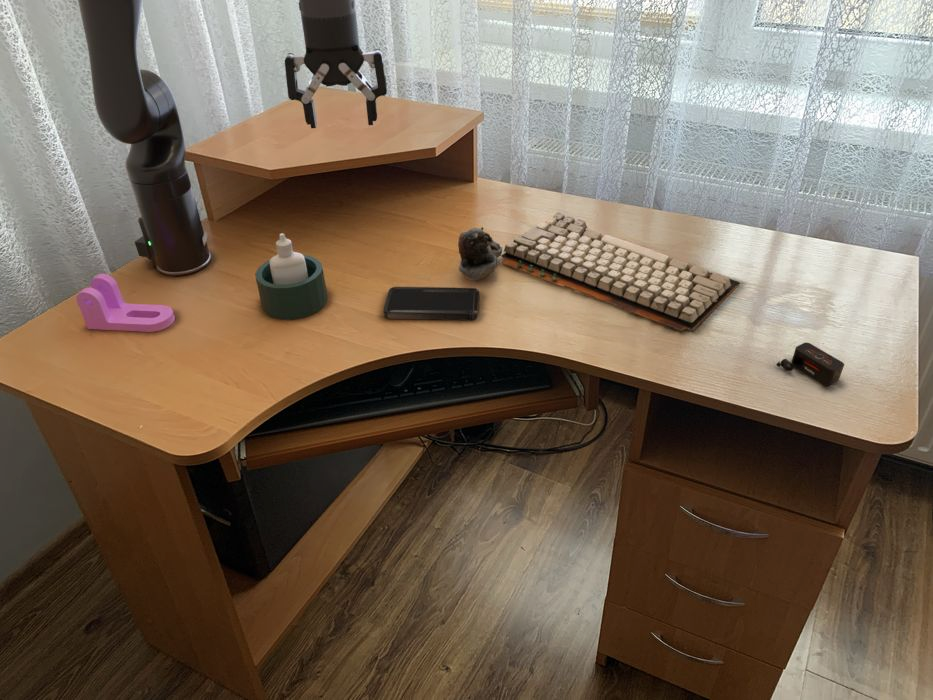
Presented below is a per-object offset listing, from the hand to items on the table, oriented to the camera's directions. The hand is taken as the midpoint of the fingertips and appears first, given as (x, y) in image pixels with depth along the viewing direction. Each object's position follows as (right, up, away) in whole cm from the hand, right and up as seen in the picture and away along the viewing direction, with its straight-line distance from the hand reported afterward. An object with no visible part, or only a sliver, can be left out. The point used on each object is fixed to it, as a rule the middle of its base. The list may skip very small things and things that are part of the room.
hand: (342, 125), depth 111 cm
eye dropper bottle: (-10, -26, +11) cm, 30 cm away
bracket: (-35, -29, +8) cm, 46 cm away
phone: (+13, -27, +9) cm, 31 cm away
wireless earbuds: (+66, -37, -7) cm, 76 cm away
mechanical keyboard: (+44, -21, +16) cm, 51 cm away
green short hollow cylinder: (-10, -26, +11) cm, 30 cm away
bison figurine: (+21, -20, +18) cm, 34 cm away
